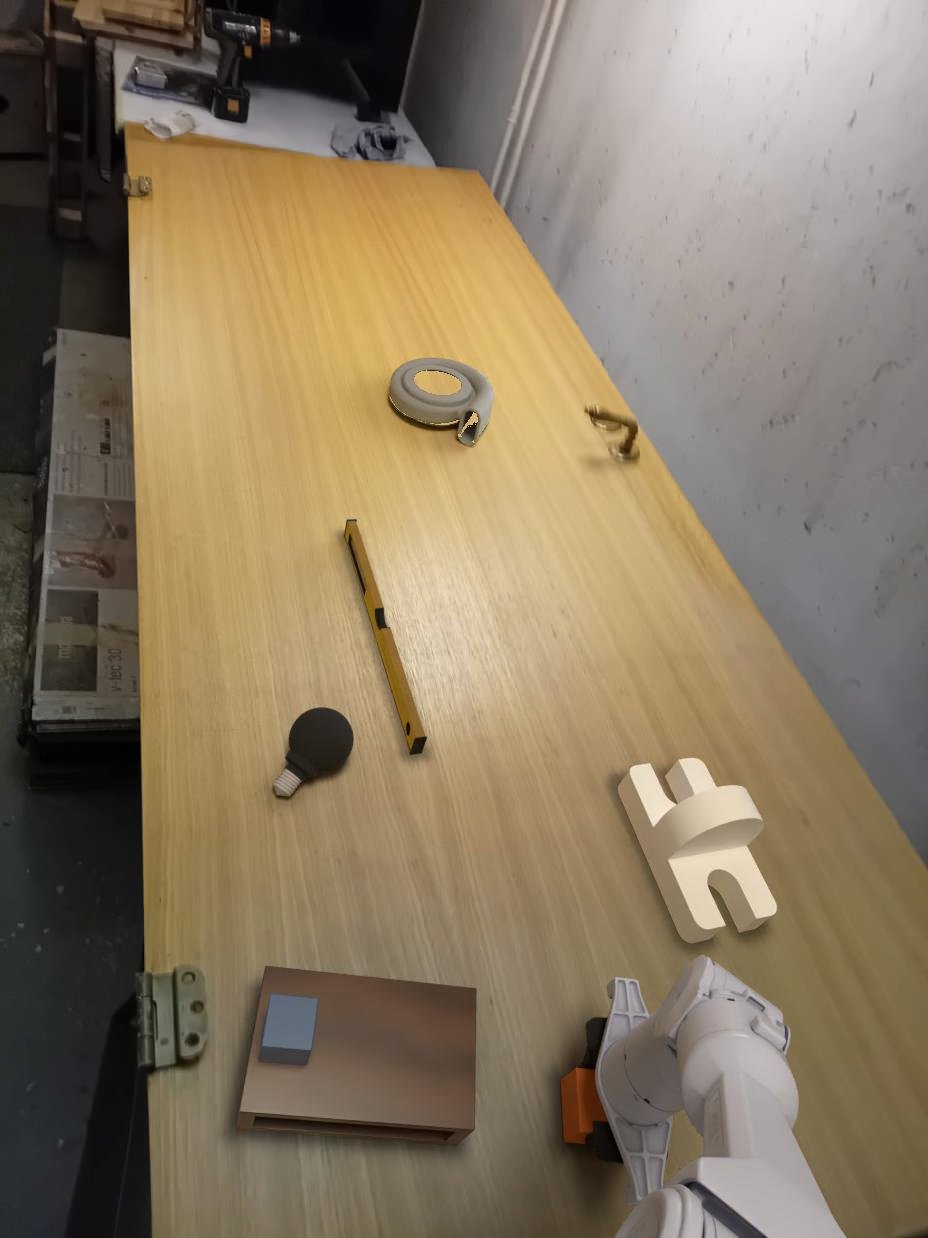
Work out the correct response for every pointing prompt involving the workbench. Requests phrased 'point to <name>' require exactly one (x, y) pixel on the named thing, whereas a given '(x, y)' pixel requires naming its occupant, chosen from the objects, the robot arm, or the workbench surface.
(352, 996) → the shelf
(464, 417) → the turbocharger housing
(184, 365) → the workbench surface
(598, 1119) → the orange box
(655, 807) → the cream double-notched bracket
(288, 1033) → the blue box
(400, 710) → the spirit level
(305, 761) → the light bulb
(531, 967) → the workbench surface
